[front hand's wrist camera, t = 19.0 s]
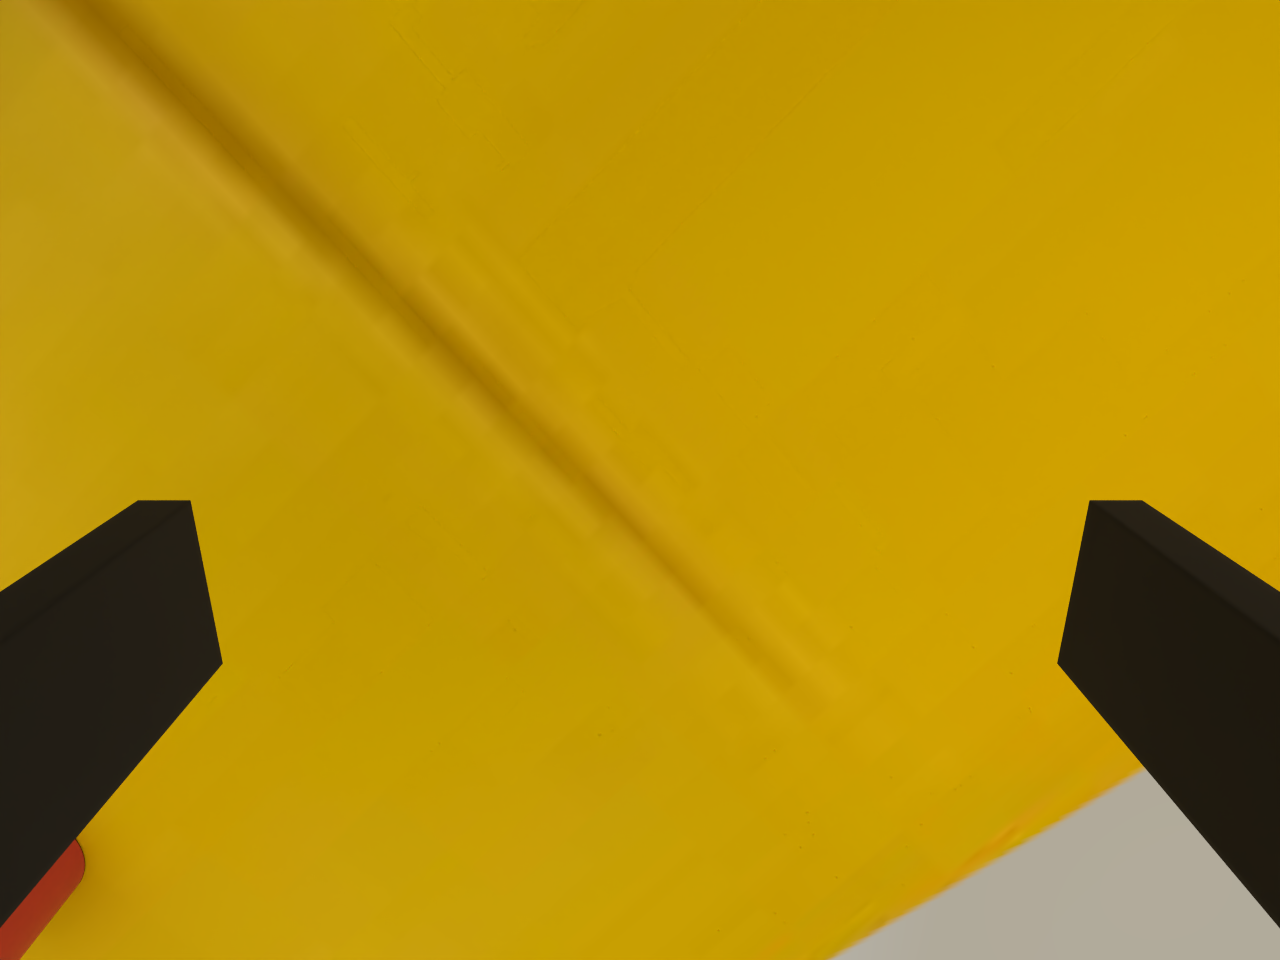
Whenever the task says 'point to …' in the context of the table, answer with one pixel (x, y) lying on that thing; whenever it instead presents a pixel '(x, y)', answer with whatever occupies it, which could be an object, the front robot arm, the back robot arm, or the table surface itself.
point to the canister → (41, 904)
